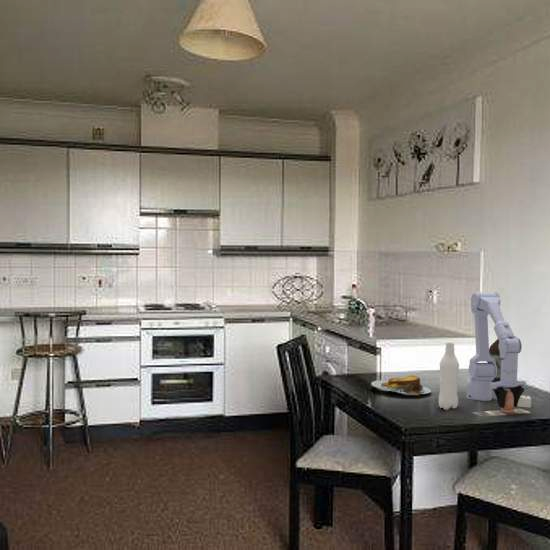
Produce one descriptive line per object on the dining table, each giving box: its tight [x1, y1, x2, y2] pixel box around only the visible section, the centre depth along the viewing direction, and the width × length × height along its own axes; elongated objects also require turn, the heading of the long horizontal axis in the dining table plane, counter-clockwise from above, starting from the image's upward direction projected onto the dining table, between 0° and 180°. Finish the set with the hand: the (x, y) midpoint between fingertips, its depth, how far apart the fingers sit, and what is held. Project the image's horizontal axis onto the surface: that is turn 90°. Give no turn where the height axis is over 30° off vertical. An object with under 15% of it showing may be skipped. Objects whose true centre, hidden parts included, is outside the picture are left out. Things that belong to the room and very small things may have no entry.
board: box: [472, 407, 532, 418], centre depth 224 cm, size 22×7×1 cm, turn 110°
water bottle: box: [438, 342, 460, 411], centre depth 231 cm, size 7×7×25 cm
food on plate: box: [370, 375, 432, 396], centre depth 259 cm, size 25×25×7 cm
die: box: [517, 395, 532, 408], centre depth 235 cm, size 4×4×5 cm
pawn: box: [500, 389, 515, 415], centre depth 225 cm, size 5×5×8 cm
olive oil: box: [489, 338, 510, 389], centre depth 274 cm, size 11×11×25 cm
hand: (507, 406), depth 225 cm, fingers open, 5 cm apart
